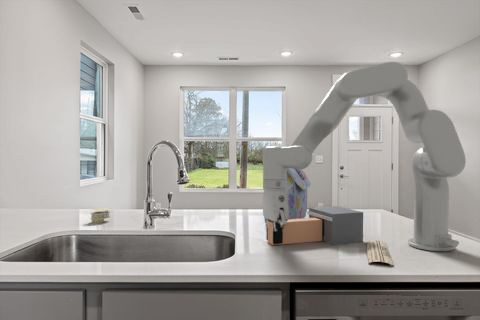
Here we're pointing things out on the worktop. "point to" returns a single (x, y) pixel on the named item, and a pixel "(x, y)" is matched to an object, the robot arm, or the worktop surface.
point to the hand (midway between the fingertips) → (274, 241)
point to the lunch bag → (297, 193)
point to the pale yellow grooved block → (99, 215)
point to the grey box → (339, 224)
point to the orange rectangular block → (298, 231)
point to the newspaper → (378, 252)
